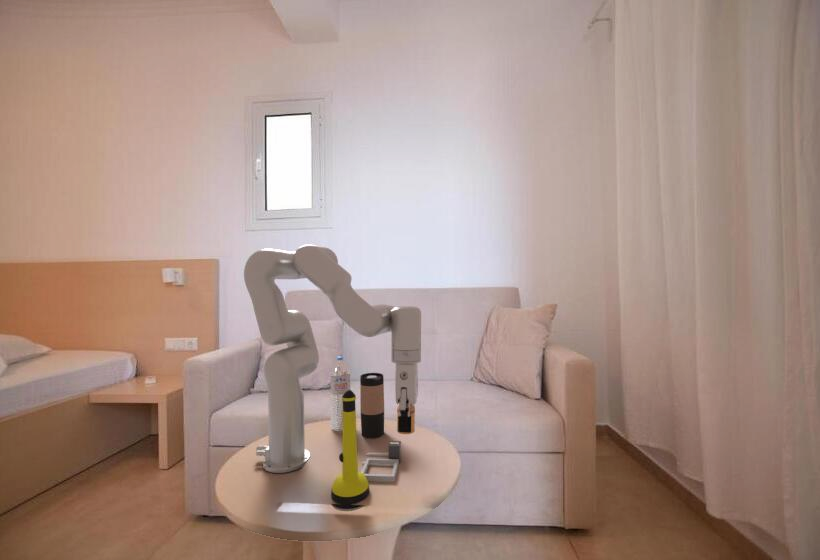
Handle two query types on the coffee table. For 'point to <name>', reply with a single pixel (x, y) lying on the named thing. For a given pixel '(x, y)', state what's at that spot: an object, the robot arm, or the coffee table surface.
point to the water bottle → (338, 392)
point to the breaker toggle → (395, 450)
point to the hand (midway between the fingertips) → (405, 426)
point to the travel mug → (372, 405)
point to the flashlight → (349, 463)
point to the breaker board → (380, 463)
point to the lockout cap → (412, 414)
